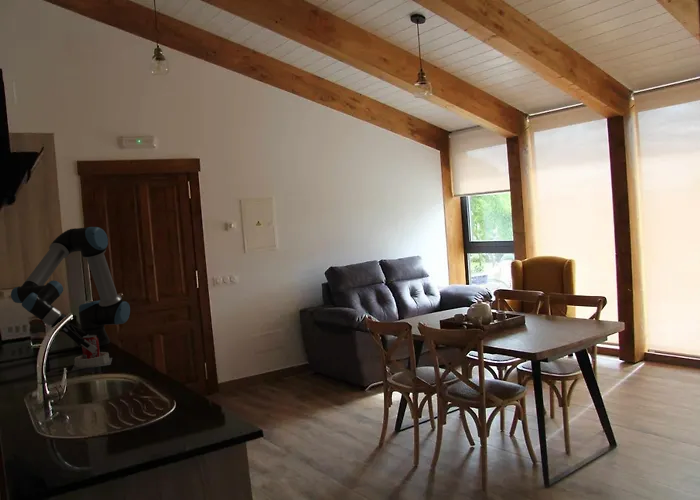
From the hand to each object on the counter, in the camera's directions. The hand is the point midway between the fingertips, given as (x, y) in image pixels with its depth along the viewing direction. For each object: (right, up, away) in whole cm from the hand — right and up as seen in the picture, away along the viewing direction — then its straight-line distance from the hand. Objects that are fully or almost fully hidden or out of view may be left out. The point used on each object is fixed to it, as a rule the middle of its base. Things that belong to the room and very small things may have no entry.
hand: (96, 348), depth 277 cm
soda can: (-2, -7, 0) cm, 7 cm away
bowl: (-2, -7, 0) cm, 7 cm away
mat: (-2, -7, 0) cm, 8 cm away
